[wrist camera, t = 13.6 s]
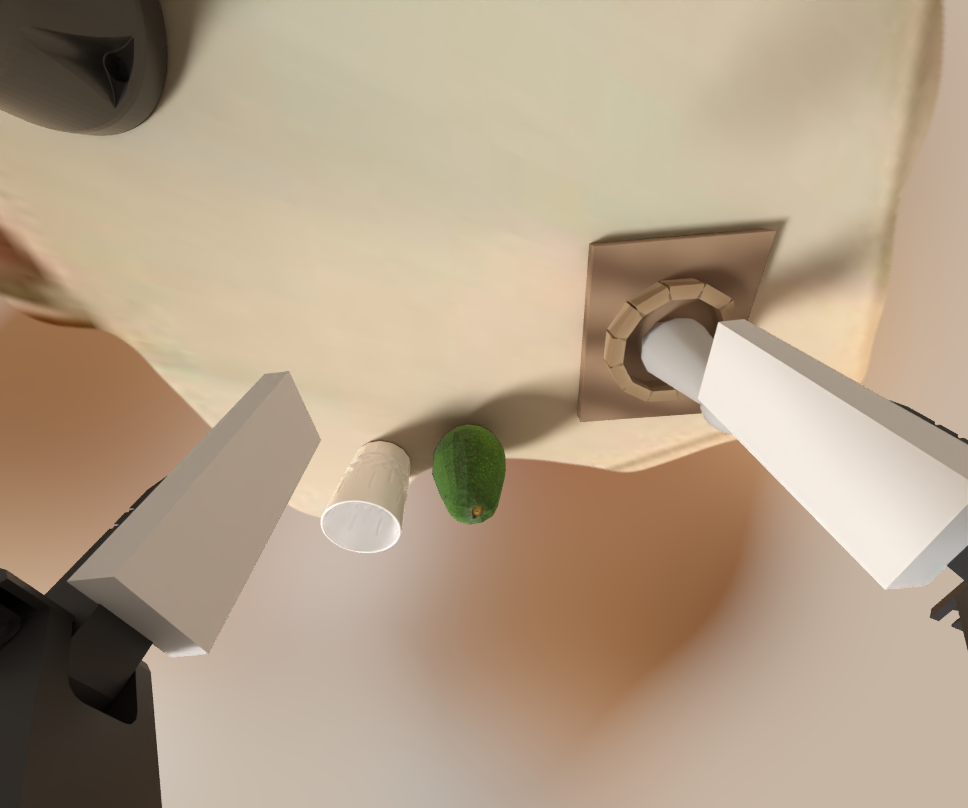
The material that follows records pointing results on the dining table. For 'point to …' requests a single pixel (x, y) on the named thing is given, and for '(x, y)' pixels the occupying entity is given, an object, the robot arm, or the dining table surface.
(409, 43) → the dining table surface
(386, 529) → the white cup
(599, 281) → the cruet board
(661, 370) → the salt shaker
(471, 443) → the avocado
